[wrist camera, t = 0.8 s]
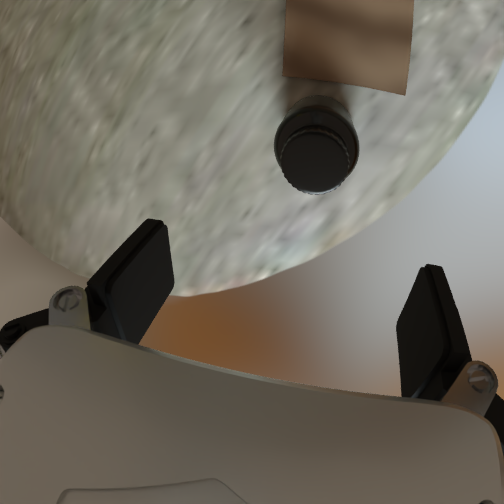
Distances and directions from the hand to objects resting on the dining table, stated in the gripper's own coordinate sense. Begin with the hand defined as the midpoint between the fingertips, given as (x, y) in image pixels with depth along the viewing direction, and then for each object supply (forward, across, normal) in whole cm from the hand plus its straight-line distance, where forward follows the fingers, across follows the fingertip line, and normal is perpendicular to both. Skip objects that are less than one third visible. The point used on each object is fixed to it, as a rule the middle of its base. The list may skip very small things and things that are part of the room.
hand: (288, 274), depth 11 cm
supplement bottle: (+24, 0, 0) cm, 24 cm away
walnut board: (+24, -2, -12) cm, 27 cm away
